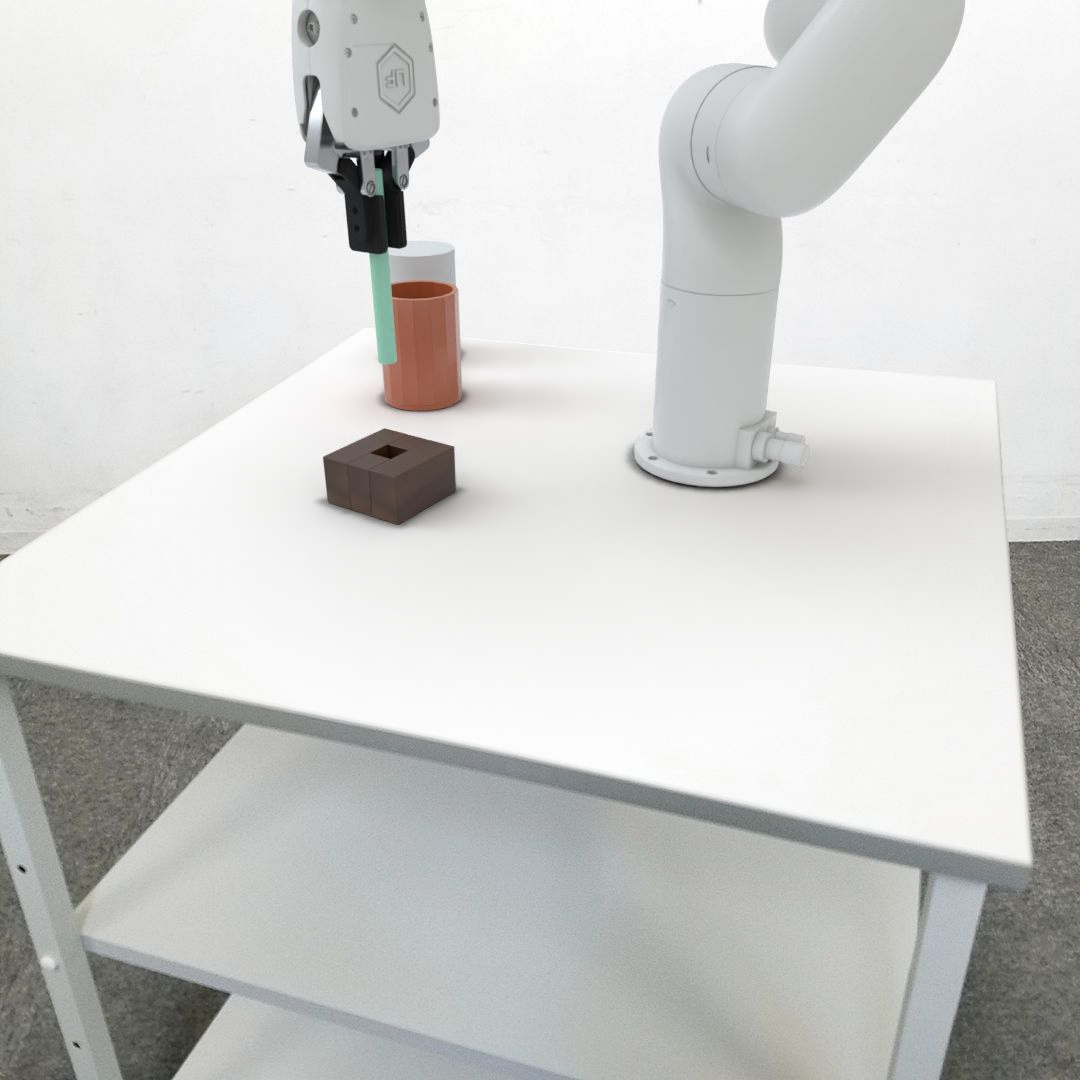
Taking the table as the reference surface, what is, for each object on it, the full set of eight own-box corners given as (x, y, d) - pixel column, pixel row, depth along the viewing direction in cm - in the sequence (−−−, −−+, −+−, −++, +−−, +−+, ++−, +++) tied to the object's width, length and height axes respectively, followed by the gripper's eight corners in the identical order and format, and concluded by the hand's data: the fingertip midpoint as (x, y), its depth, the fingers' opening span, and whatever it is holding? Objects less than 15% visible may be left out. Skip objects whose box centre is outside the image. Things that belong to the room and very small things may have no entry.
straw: (400, 361, 79) (386, 168, 73) (388, 366, 78) (372, 171, 72) (386, 358, 80) (371, 167, 73) (374, 363, 79) (357, 170, 72)
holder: (456, 491, 85) (454, 446, 83) (397, 524, 80) (394, 477, 78) (387, 471, 89) (384, 427, 87) (327, 502, 83) (322, 456, 81)
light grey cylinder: (463, 346, 121) (460, 241, 116) (451, 367, 114) (447, 257, 108) (395, 344, 122) (388, 240, 116) (379, 365, 115) (371, 255, 109)
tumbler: (477, 393, 106) (473, 286, 101) (429, 416, 101) (423, 304, 95) (417, 380, 110) (412, 276, 105) (368, 401, 104) (360, 292, 99)
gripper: (310, -47, 59) (343, 277, 68) (473, -41, 70) (483, 235, 79) (220, -42, 63) (262, 264, 71) (389, -38, 74) (407, 226, 83)
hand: (378, 247), depth 75 cm, fingers closed on straw, 1 cm apart
